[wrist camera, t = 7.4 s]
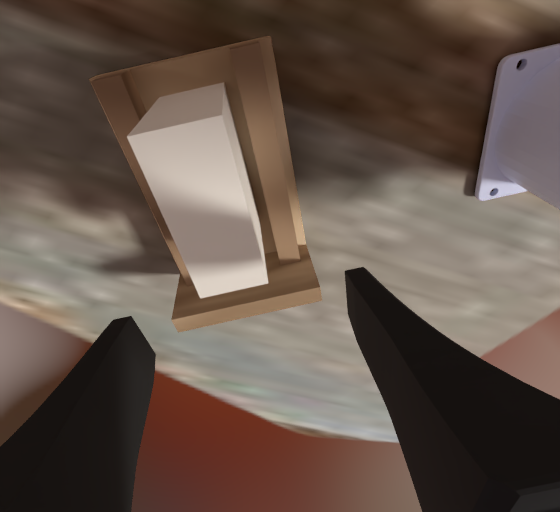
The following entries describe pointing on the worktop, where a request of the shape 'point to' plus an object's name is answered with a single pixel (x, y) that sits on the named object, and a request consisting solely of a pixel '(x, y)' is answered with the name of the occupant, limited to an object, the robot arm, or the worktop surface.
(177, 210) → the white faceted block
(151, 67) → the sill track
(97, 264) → the worktop surface
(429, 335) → the robot arm
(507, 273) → the worktop surface
